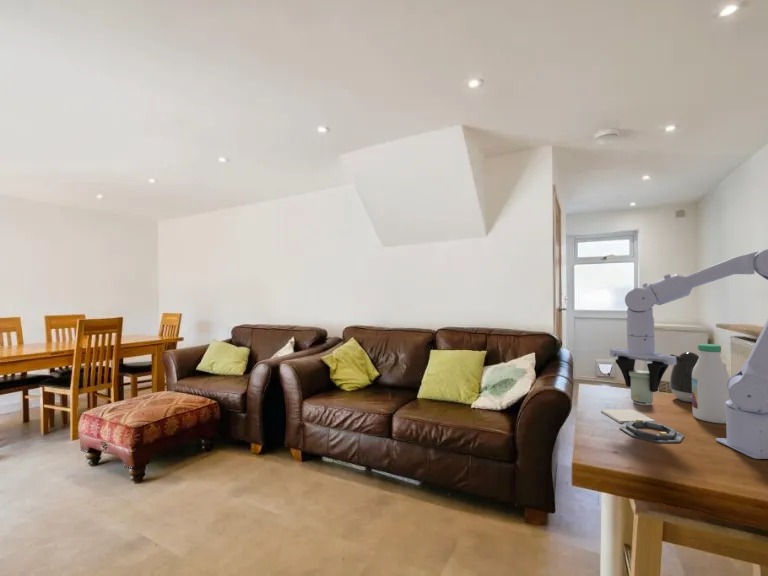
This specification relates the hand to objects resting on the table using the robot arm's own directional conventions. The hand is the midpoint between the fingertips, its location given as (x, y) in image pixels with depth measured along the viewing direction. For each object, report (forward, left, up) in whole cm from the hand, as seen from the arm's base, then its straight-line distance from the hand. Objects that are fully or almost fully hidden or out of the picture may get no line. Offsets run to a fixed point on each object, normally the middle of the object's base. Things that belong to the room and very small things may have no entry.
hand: (641, 388), depth 93 cm
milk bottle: (+6, -22, -10) cm, 25 cm away
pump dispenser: (+22, -29, -10) cm, 38 cm away
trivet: (+8, -1, -10) cm, 13 cm away
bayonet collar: (-3, 0, -10) cm, 11 cm away
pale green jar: (0, 0, -3) cm, 3 cm away
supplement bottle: (+20, -13, -10) cm, 26 cm away
